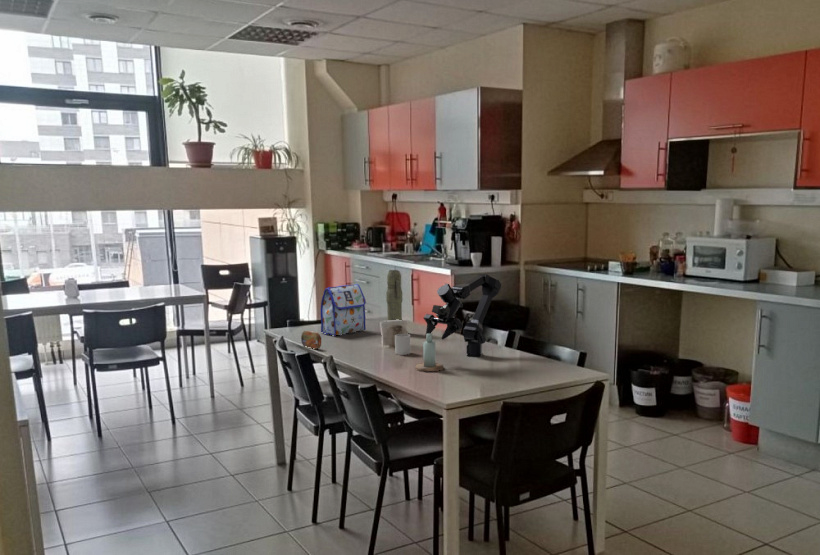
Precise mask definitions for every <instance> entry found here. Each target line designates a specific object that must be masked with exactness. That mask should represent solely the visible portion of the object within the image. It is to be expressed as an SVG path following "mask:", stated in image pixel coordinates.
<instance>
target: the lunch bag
mask: <svg viewBox="0 0 820 555" xmlns="http://www.w3.org/2000/svg"><path fill="white" fill-rule="evenodd" d="M366 302H367V301H366V298H365V295H364V293H363V290H362V288H361V287H360V284H358V283H357V284H345V285H338V286H328V287H326V288H325V289H324V291H323V294H322V298H321V301H320V322H321V323H320V333H321V332H323V333H326V334H325V335H327V334H330V335H334V336H335V337H337V336H336V335H340V336H342V335H341V334H344V335H347V334H346V333H349V334H352V333H351V332H355V333H357V332H356V331H360V332H363V331H362V330H365V331H366V329H367V328H366V326H367V325H366V307H365V306H366ZM330 335H329V336H330Z"/></svg>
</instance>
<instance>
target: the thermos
mask: <svg viewBox="0 0 820 555" xmlns="http://www.w3.org/2000/svg"><path fill="white" fill-rule="evenodd" d="M386 280H387V281H386V282H387V283H386V284H387V288H386V289H387V290H386V292H385V293H386V294H385V295H386V296H385V298H386V301H385V302H386V305H387V307H386V308H387V309H386V310H387V320H396V319H399V320H402V321H403V319H402V318H403V316H402V315H403V314H402V312H403V309H402V303H403V290H402V274H401V272H400V270H398V269H390V270H388V272H387V276H386ZM387 320H386V321H387Z"/></svg>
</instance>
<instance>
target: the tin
mask: <svg viewBox="0 0 820 555" xmlns="http://www.w3.org/2000/svg"><path fill="white" fill-rule="evenodd" d="M300 339H301V344H302V346H303V347H304V346H307V347H311V348H315V349H314V350H318V349H317V348H319V349H320V348H321V347H322V336H321V333H319V332H315V331H312V330H304V331H303V332H302V333H301V338H300Z"/></svg>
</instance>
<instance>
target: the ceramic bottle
mask: <svg viewBox="0 0 820 555" xmlns="http://www.w3.org/2000/svg"><path fill="white" fill-rule="evenodd" d="M425 337H426V338H425V341H423V342H422V343H423V344H422V345H423V346H422V348H423V358H422V359H423V363H424V367H435V366H436V363H437V362H436V341H435V340H433V333H432V332H431V333H428V334H426V333H425Z"/></svg>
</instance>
